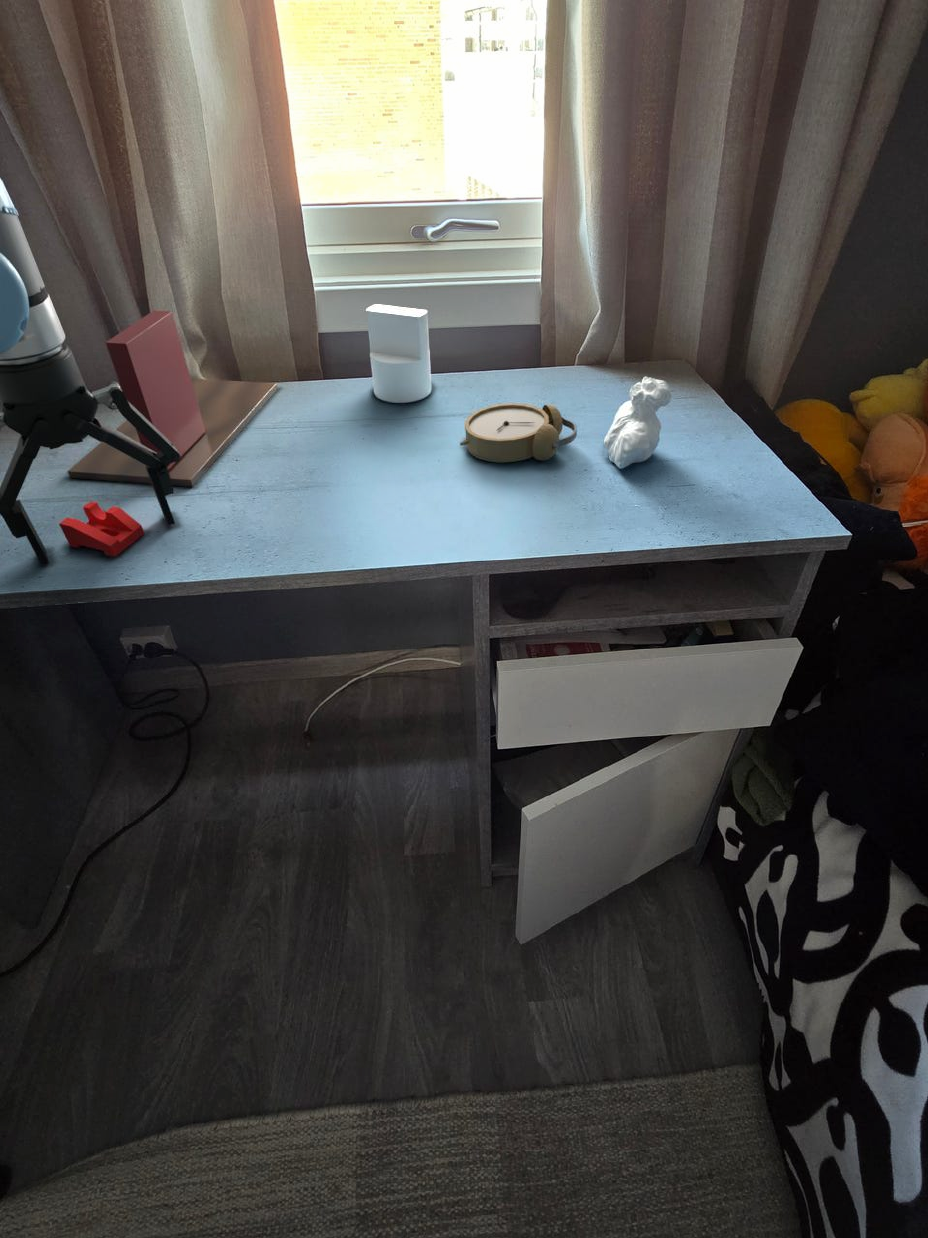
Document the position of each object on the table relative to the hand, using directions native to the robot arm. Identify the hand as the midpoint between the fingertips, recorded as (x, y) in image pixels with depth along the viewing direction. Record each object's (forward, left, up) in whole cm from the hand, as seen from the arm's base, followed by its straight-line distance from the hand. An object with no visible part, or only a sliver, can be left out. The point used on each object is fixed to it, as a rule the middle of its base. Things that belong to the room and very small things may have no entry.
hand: (108, 537), depth 78 cm
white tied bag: (+63, -17, 0) cm, 65 cm away
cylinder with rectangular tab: (+47, +18, 0) cm, 50 cm away
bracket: (0, 0, 0) cm, 0 cm away
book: (+12, +15, +1) cm, 19 cm away
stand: (+14, +23, 0) cm, 27 cm away
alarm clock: (+52, -7, 0) cm, 52 cm away
